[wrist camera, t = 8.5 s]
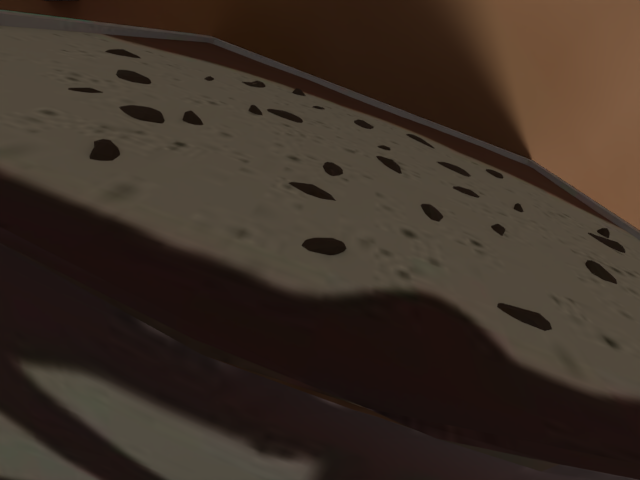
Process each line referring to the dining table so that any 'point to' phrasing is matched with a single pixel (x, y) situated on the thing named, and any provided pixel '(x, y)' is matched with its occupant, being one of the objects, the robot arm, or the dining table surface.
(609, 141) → the dining table surface
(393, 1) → the dining table surface
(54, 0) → the frame
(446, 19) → the dining table surface
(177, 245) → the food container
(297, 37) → the dining table surface
